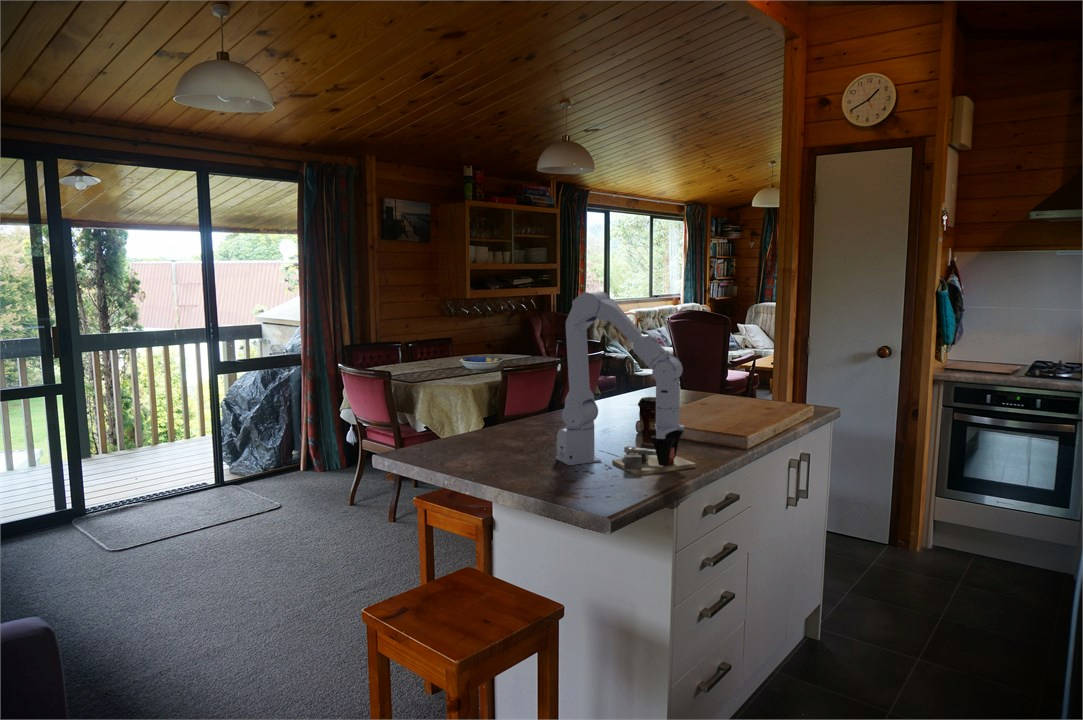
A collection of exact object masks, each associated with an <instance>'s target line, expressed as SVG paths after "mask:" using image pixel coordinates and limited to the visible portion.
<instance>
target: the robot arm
mask: <svg viewBox="0 0 1083 720" xmlns="http://www.w3.org/2000/svg"><path fill="white" fill-rule="evenodd" d="M571 304H572V305H571V306H572V307H571V309H570V311H569V312H568V313H569V314H568V316H567V318H566V319H565V338H566V340H565V341H566V355H567V357H566V359H567V368H568V369H567V373H568V374H567V375H568V389H569V390H568V393H566V394H567V395H566V396H565V399H564V408H563V411H562V414H561V415H562V420H563V422H564V424H565V425H566V427H564V428H560V429H559V430H558V431H557V434H556V456H555V459H556V460H557V461H560V462H561V463H563V464H565V465H567V466H575V465H576V466H577V465H581V464H582V465H583V464H591V463H599V462H601V461H602V459H600V458H598V457H597V456H595V420H596V419H597V417H598V416H599V407H598V405H597V404H596V403H597V402H596V401H595V395H594V393H593V391H592V389H591V385H590V367H589V363H590V362H589V351H588V350H589V348H588V329H589V327H590V326H592V325H593V323H594V322H596V321H597V320H599V321H606V322H609V323H611V324H612V325H613V326H614V327H615V328H616V329H617V330H619V332H620V333H621V334H622V335H624V337H626V338H627V339H628V340H629V341H630V342H631V343H632V350H633V352H634V353H635V355H637V356H638V357H639V358H640V359H641V360H642V362H643V363H644V364H645V365H646V366H647V367H648V368H649V369H650V370H652V371H651V373H652V376H653V379H654V380H655V385H656V386H655V387H656V388H655V397H656V424H655V429H656V436H651V442H652V443H653V445H654V446H653V447H654V448H653V449H655V450H656V454H657V459H658V463H659V465H660V466H668V464H669V459H670V452H671V448H672V447H674V459H675V457H676V456H677V452H678V447H679V443H680V440H681V437H682V435H683V434H684V429H685V425H684V424H680V405H681V404H680V402H681V401H680V399H681V398H680V396H681V395H680V393H681V392H680V391H681V389H680V377H681V376H682V374H683V371H684V368H683V365H682V362H681V361H680V359H679V358H678V357H677V356H672V353H671V352H670V351H666V350H665V348H664V347H663V346H662V345H661V344H660V343H659V342H658V341H659V339H658V337H656V336H652V335H651V334H643V333H642V332H641V330H640V329H639V328H638V327H637V325H636V324H635V323H634V322H633V321H632V320H631V319H630V317H629V316H628V315H627V314H626V313H625V312H624V311H623V310H622V308H621V307H620V306H619V305H618V302H617V301H616V300H614V299H613V298H611V297H610V295H609V294H608V293H606V292H604V291H596V292H587V291H584V292H582V293H580V294H579V295H578V296H577V297H575V298H574V299H573V300H572V301H571Z"/></svg>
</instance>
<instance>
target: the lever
mask: <svg viewBox="0 0 1083 720" xmlns="http://www.w3.org/2000/svg"><path fill="white" fill-rule="evenodd" d="M623 452H624V453H635V454H637V455H641V457H642V463H647V462H648V456H649V455H657V454H656V450H655V448H653V449H652V448H645V447H644V448H643V447H636V446H631V445H630V446H625V447H623ZM668 465H674V447H672V448H671V452H670V459H669V464H668Z"/></svg>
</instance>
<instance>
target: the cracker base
mask: <svg viewBox="0 0 1083 720" xmlns="http://www.w3.org/2000/svg"><path fill="white" fill-rule="evenodd" d="M611 462H612V465H614V466H615V467H618V468H619V469H622V470H624V471H626V472H628V473H630V474H632V475H635V476H636V477H638V476H644V475H652V474H659V473H665V472H667V473H668V472H673V471H680V470H687V469H693V468H694V469H696V465H697V464H696V463H695V462H693V461H690V460H688V459H685V458H682V457H681V456H677V455H676V457H675V459H674V465H668V466H660V465H659V463H658V459H657V455H648V462H647V463H642V457H641V455H638V454H637V453H626V454H624V456H623V458H619V459H612V460H611Z"/></svg>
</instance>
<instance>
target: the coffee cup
mask: <svg viewBox="0 0 1083 720" xmlns="http://www.w3.org/2000/svg"><path fill="white" fill-rule="evenodd" d="M637 406H638V408H639V413H638V414H639V415H638V416H639V425H640V427H639V428H640V432H641V436H642V437H641V438H642V439H641V442H642V444H643V445H646V446H651V447H652V446H653V447H654V445H653V443H652V442H651V436H656V429H655V424H656V396H655V397H654V396H646V397H642V398H641V397H640V400H639V401H638V402H637Z"/></svg>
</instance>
